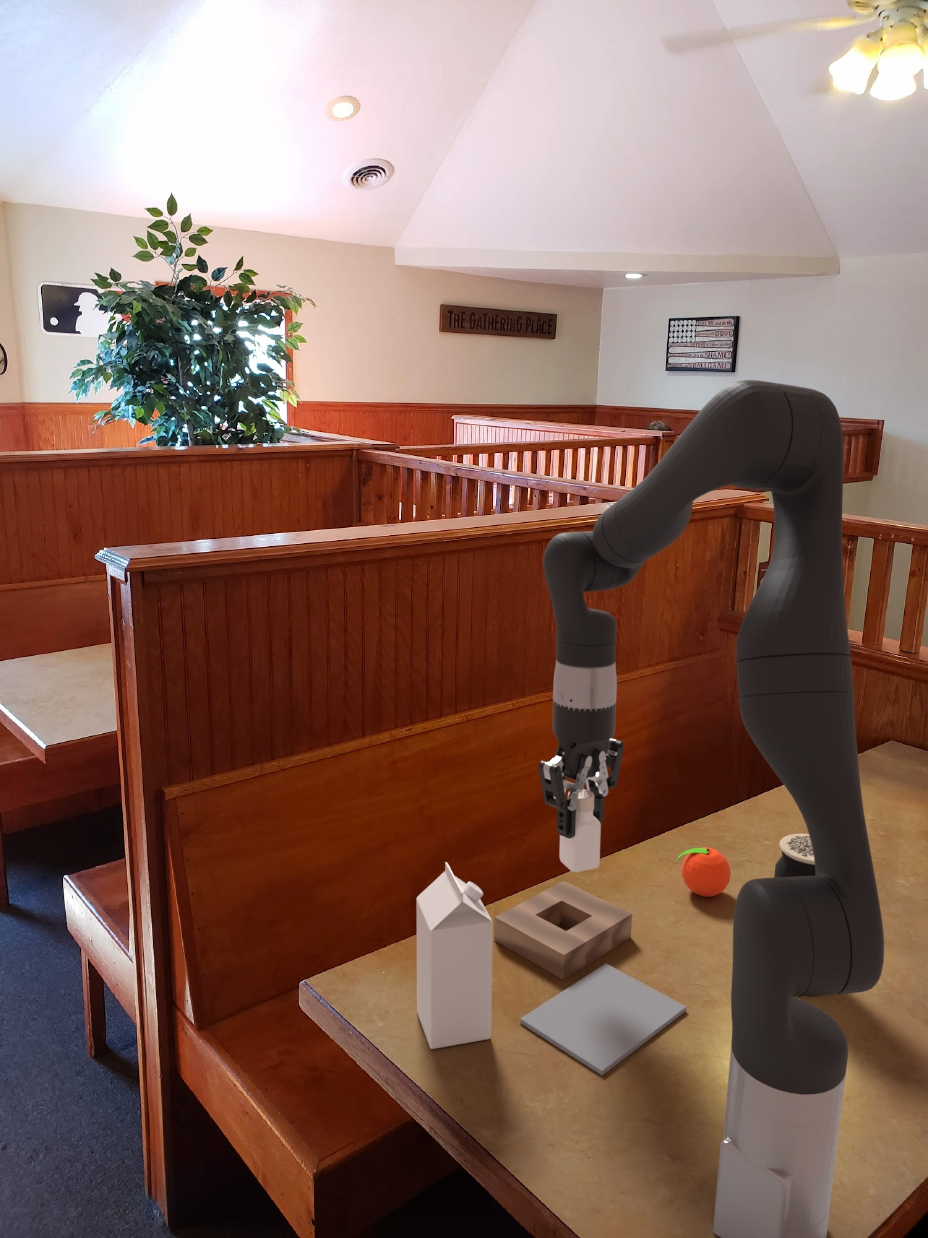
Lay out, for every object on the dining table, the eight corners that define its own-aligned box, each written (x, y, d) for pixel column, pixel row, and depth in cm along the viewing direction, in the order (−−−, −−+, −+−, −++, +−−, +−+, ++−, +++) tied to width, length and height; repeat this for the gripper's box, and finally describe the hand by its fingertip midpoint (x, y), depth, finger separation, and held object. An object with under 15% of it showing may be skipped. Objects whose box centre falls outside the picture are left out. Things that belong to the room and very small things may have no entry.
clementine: (673, 902, 137) (676, 857, 136) (672, 879, 144) (674, 835, 142) (730, 908, 136) (734, 862, 134) (726, 884, 143) (730, 840, 141)
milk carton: (430, 1051, 106) (430, 897, 102) (416, 1012, 113) (415, 866, 108) (491, 1040, 108) (494, 888, 104) (474, 1002, 115) (475, 858, 110)
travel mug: (752, 975, 120) (764, 844, 116) (787, 952, 125) (800, 826, 121) (810, 1006, 115) (824, 869, 110) (844, 980, 120) (859, 849, 115)
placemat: (601, 1076, 103) (602, 1071, 102) (520, 1023, 111) (520, 1018, 111) (686, 1011, 113) (686, 1006, 113) (605, 967, 122) (605, 963, 122)
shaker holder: (563, 980, 119) (564, 955, 118) (494, 940, 128) (494, 917, 127) (630, 937, 129) (632, 913, 128) (562, 903, 137) (563, 881, 136)
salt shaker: (601, 869, 118) (603, 797, 116) (572, 875, 116) (574, 802, 114) (585, 855, 122) (587, 785, 120) (557, 861, 120) (559, 790, 118)
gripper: (570, 716, 107) (566, 857, 110) (645, 692, 117) (639, 822, 120) (521, 702, 112) (518, 837, 116) (597, 679, 122) (592, 805, 125)
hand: (580, 829), depth 118 cm, fingers closed on salt shaker, 4 cm apart
